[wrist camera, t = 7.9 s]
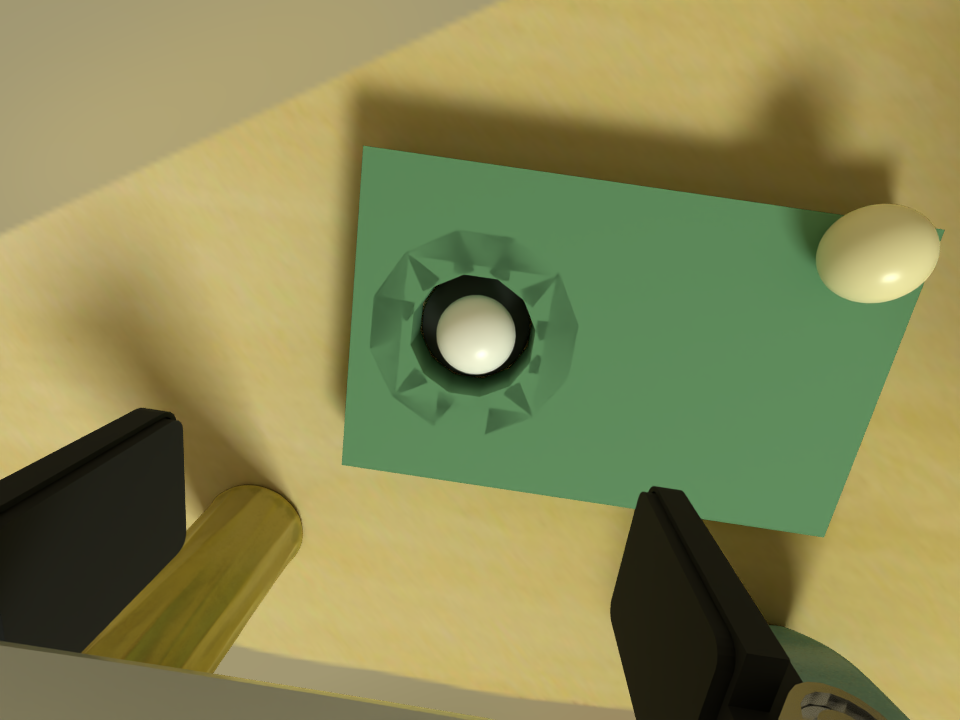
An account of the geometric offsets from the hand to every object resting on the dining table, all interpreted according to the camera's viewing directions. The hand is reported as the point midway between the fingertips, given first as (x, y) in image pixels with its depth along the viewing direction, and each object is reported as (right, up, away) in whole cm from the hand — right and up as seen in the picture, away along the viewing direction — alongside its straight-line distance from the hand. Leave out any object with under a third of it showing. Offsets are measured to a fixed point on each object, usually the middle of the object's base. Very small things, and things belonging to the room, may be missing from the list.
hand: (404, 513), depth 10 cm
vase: (-13, -7, +22) cm, 26 cm away
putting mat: (+8, +4, +17) cm, 20 cm away
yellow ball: (+18, +7, +11) cm, 22 cm away
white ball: (+1, +4, +15) cm, 16 cm away
